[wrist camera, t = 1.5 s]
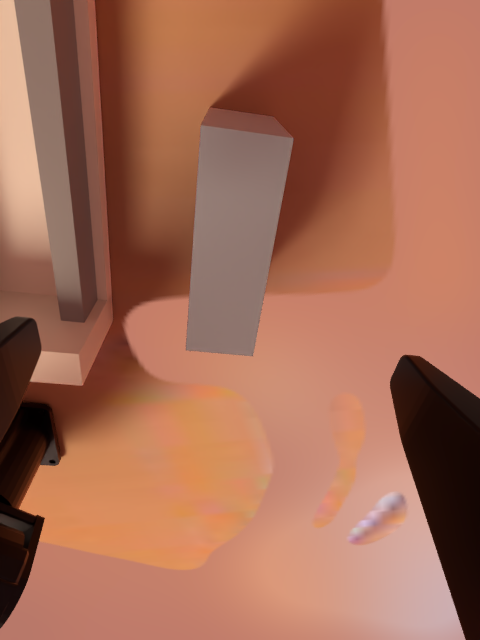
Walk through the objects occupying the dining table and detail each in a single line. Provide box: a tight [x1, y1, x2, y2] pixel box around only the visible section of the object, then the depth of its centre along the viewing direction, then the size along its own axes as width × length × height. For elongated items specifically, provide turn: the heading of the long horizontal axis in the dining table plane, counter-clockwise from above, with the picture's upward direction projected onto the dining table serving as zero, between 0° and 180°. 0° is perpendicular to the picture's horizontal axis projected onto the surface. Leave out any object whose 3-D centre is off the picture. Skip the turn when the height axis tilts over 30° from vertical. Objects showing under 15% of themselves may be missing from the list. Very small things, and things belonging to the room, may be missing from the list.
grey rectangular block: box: [186, 107, 294, 356], centre depth 18 cm, size 9×3×7 cm, turn 173°
